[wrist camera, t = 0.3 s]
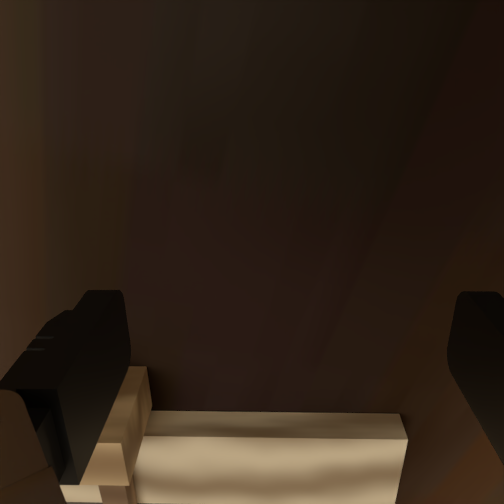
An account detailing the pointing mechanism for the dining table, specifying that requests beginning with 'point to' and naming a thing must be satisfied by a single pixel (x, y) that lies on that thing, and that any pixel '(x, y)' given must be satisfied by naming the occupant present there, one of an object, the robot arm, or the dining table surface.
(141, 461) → the board
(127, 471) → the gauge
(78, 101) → the dining table surface
